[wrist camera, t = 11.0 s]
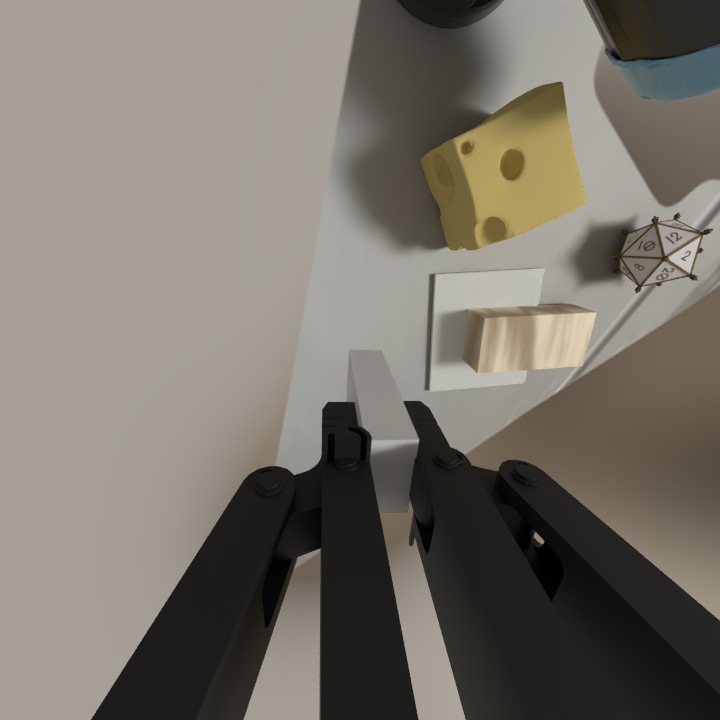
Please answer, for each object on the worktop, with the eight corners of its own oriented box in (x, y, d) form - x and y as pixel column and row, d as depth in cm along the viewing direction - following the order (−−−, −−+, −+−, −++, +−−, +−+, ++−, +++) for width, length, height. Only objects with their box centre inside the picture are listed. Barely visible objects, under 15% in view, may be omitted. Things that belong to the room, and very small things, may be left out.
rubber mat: (428, 389, 47) (429, 391, 46) (434, 273, 41) (435, 274, 40) (522, 381, 48) (524, 383, 48) (541, 267, 42) (544, 268, 41)
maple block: (477, 373, 41) (582, 366, 42) (484, 318, 38) (596, 312, 40) (462, 359, 45) (559, 353, 46) (468, 308, 42) (570, 303, 44)
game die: (614, 256, 47) (679, 303, 42) (576, 264, 43) (642, 317, 38) (671, 192, 40) (758, 239, 35) (631, 196, 36) (721, 249, 31)
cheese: (446, 249, 40) (485, 258, 31) (413, 155, 36) (447, 131, 26) (527, 209, 39) (591, 205, 30) (503, 107, 35) (569, 66, 26)
